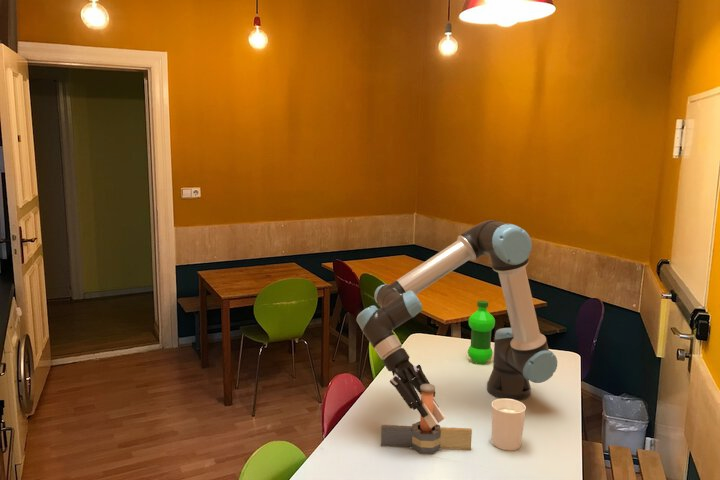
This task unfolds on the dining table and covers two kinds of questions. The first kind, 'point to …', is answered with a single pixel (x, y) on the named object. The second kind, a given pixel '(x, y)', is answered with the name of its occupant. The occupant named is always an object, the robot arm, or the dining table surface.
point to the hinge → (426, 438)
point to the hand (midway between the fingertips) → (438, 423)
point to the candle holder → (507, 423)
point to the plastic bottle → (481, 334)
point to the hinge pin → (426, 398)
